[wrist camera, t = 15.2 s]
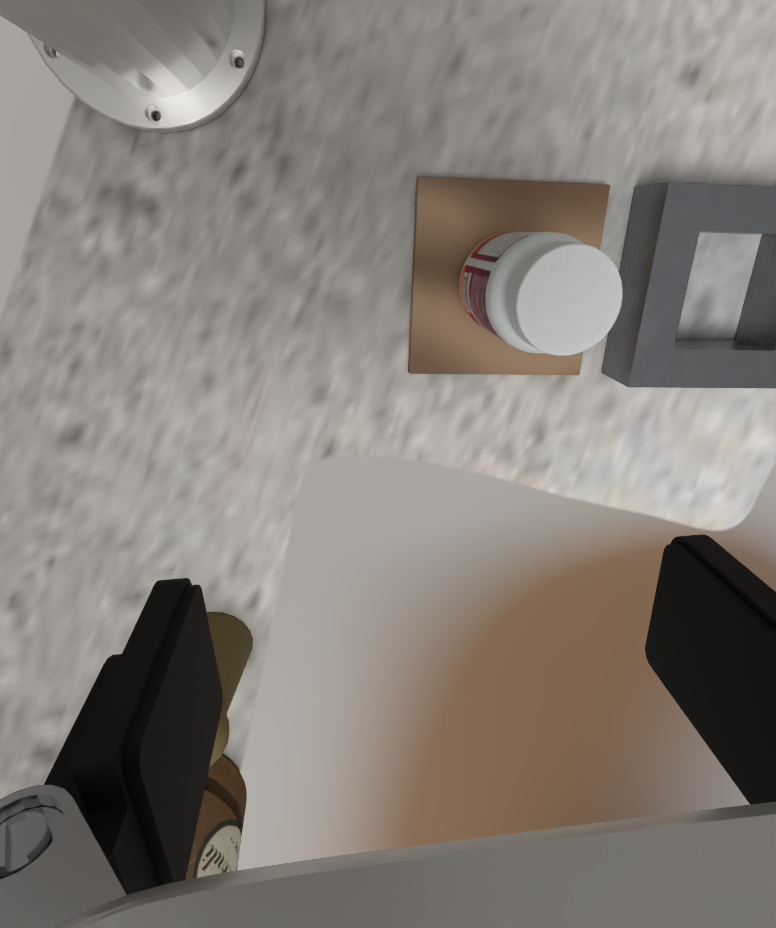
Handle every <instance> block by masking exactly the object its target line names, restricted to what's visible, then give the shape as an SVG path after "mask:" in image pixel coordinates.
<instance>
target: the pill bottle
mask: <svg viewBox="0 0 776 928" xmlns="http://www.w3.org/2000/svg"><path fill="white" fill-rule="evenodd" d="M459 291H460V297H461V301H462V304H463V306H464V308H465V310H466V312H467V313H468V315H469V316H470V317H471V318H472V319H473V320H474V321H475V322H476V323H477V324H478V325H480V326H481V327H483V328H484V329H486V330H487V331H489V332H490V333H492V334H494V335H495V336H497V337H499V338H500V339H502V340H503V341H505V342H506V343H507V344H508V345H510V346H512V347H514V348H516V349H519V350H521V351H524V352H528V353H536V354H543V353H547V354H550V355H557V356H567V355H573V354H577V353H581V352H583V351H585V350H587V349H589V348H591V347H592V346H594V345H595V344H597V343H598V342H599V341H600V340H601V339H603V338H604V336H605V335H606V334H607V333H608V332H609V330H610V329H611V328H612V326H613V324H614V323H615V321H616V319H617V316H618V314H619V311H620V308H621V303H622V295H623V293H622V281H621V277H620V274H619V272H618V269H617V267H616V266H615V264H614V262H613V261H612V260H611V259H610V258H609V257H608V255H606V254H605V253H604V252H603V251H601V250H600V249H598V248H596V247H593V246H591V245H587V244H584V243H583V242H581V241H580V240H578V239H576V238H575V237H572V236H570V235H567V234H563V233H558V232H504V233H500V234H496V235H493V236H491V237H489V238H487V239H485V240H484V241H482V242H481V243H480V244H478V245H477V246H476V247H475V248H474V249H473V251H472V252H471V253H470V254H469V256H468V257H467V259H466V261H465V263H464V265H463V268H462V271H461V274H460V280H459Z"/></svg>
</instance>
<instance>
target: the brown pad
mask: <svg viewBox="0 0 776 928" xmlns="http://www.w3.org/2000/svg"><path fill="white" fill-rule="evenodd" d="M609 189H610V185H601V184H578V183H554V182H531V181H508V180H484V179H461V178H437V177H417V187H416V209H415V231H414V253H413V275H412V297H411V319H410V341H409V363H408V371H409V373H414V374H518V375H579V373H580V367H581V361H582V354H583V352H581V353H577V354H573V355H567V356H557V355H550V354H547V353H543V354H536V353H528V352H524V351H521V350H519V349H516V348H514V347H512V346H510V345H508V344H507V343H506V342H505V341H503V340H502V339H500V338H499V337H497V336H495V335H494V334H492V333H490V332H489V331H487V330H486V329H484V328H483V327H481V326H480V325H478V324H477V323H476V322H475V321H474V320H473V319H472V318H471V317H470V316H469V315H468V313H467V312H466V310H465V308H464V306H463V304H462V301H461V297H460V291H459V280H460V274H461V271H462V268H463V265H464V263H465V261H466V259H467V257H468V256H469V254H470V253H471V252H472V251H473V249H474V248H475V247H476V246H477V245H478V244H480V243H481V242H482V241H484V240H485V239H487V238H489V237H491V236H493V235H496V234H500V233H504V232H558V233H563V234H567V235H570V236H572V237H575V238H576V239H578V240H580V241H581V242H583V243H584V244H587V245H591V246H593V247H596V248H598V249H600V244H601V238H602V232H603V226H604V220H605V214H606V208H607V202H608V195H609Z"/></svg>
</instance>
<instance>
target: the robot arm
mask: <svg viewBox="0 0 776 928" xmlns="http://www.w3.org/2000/svg"><path fill="white" fill-rule="evenodd" d="M0 15H1V16H2V17H4V18H6V19H7V20H9V21H10V22H12V23H13V24H15V25H16V26H18V27H20V28H21V29H23V30H24V31H26V32H27V33H28V35H29V37H30V39H31V41H32V42H33V44H34V46H35V47H36V49H37V51H38V52H39V54H40V56H41V57H42V59H43V61H44V62H45V64H46V65H47V66H48V67H49V69H50V70H51V71H52V72H53V73H54V74H55V76H56V77H57V78H58V79H59V81H60V82H61V83H62V84H63V85H64V86H65V87H66V88H67V89H68V90H69V91H70V92H72V93H73V94H74V95H75V96H76V97H77V98H78V99H79V100H81V101H82V102H83V103H84V104H86V105H87V106H89V107H90V108H92V109H94V110H95V111H97V112H98V113H100V114H102V115H103V116H105V117H107V118H109V119H111V120H113V121H115V122H117V123H119V124H122V125H125V126H128V127H131V128H135V129H138V130H141V131H148V132H158V133H171V132H180V131H187V130H190V129H192V128H195V127H198V126H201V125H204V124H206V123H208V122H209V121H211V120H212V119H214V118H216V117H217V116H219V115H220V114H222V113H223V112H224V111H225V110H226V109H227V108H228V107H229V106H230V105H231V104H232V103H233V102H234V101H235V100H236V99H237V98H238V97H239V96H240V94H241V93H242V91H243V90H244V88H245V86H246V85H247V83H248V82H249V80H250V79H251V76H252V74H253V71H254V69H255V66H256V64H257V61H258V59H259V56H260V51H261V46H262V42H263V37H264V32H265V0H0ZM56 51H57V52H59V53H60V54H61V55H60V56H59V57H57V56H56ZM237 59H242V60H243V61H244V66H243V67H242V68H237V67H236V65H235V63H236V60H237ZM155 112H159V113H160V115H161V119H160V120H159V121H155V120H154V118H153V114H154V113H155ZM645 652H646V657H647V660H648V663H649V664H650V666H651V667H652V669H653V670H654V672H655V673H656V674H657V676H658V677H659V679H660V680H661V681H662V683H663V684H664V686H665V687H666V688H667V690H668V691H669V692H670V694H671V695H672V696H673V698H674V699H675V701H676V702H677V704H678V705H679V706H680V708H681V709H682V711H683V712H684V713H685V715H686V716H687V717H688V719H689V720H690V721H691V723H692V724H693V726H694V727H695V729H696V730H697V731H698V733H699V734H700V735H701V737H702V738H703V740H704V741H705V742H706V744H707V745H708V747H709V748H710V749H711V751H712V752H713V754H714V755H715V756H716V758H717V759H718V760H719V762H720V763H721V765H722V766H723V767H724V769H725V770H726V771H727V773H728V774H729V776H730V777H731V778H732V780H733V781H734V783H735V784H736V785H737V787H738V788H739V790H740V791H741V792H742V794H743V795H744V796H745V798H746V799H747V801H748V802H749V803H750V805H744V806H735V807H727V808H718V809H711V810H701V811H693V812H685V813H676V814H668V815H659V816H651V817H643V818H634V819H626V820H618V821H610V822H602V823H593V824H586V825H578V826H569V827H561V828H553V829H546V830H537V831H529V832H521V833H513V834H505V835H498V836H490V837H481V838H473V839H465V840H458V841H450V842H443V843H435V844H427V845H419V846H412V847H404V848H397V849H389V850H382V851H373V852H366V853H358V854H350V855H343V856H335V857H327V858H320V859H313V860H306V861H300V862H293V863H286V864H279V865H272V866H266V867H259V868H253V869H246V870H239V871H232V872H225V873H219V874H214V875H209V876H204V877H199V878H194V879H189V880H185V879H186V874H187V870H188V865H189V860H190V856H191V851H192V846H193V842H194V837H195V832H196V828H197V823H198V818H199V813H200V809H201V804H202V799H203V795H204V790H205V785H206V781H207V776H208V771H209V767H210V762H211V757H212V753H213V748H214V743H215V739H216V734H217V729H218V725H219V720H220V715H221V710H222V702H223V695H222V687H221V682H220V677H219V672H218V667H217V662H216V657H215V652H214V647H213V642H212V637H211V632H210V627H209V623H208V618H207V613H206V608H205V603H204V598H203V593H202V589H201V587H200V585H192V584H191V582H190V580H189V579H188V578H183V579H171V580H159V581H157V582H156V583H155V585H154V587H153V589H152V591H151V593H150V595H149V598H148V600H147V602H146V604H145V606H144V608H143V610H142V612H141V615H140V617H139V619H138V621H137V623H136V625H135V627H134V630H133V632H132V634H131V636H130V638H129V640H128V642H127V644H126V647H125V649H124V651H123V653H122V654H118V655H112V656H111V657H109V658H108V659H107V661H106V662H105V664H104V665H103V667H102V669H101V671H100V673H99V675H98V677H97V679H96V681H95V683H94V685H93V687H92V689H91V691H90V693H89V695H88V697H87V699H86V701H85V703H84V705H83V707H82V709H81V711H80V713H79V715H78V717H77V719H76V721H75V723H74V725H73V727H72V729H71V731H70V733H69V735H68V737H67V739H66V741H65V743H64V745H63V747H62V749H61V751H60V753H59V755H58V757H57V759H56V761H55V763H54V765H53V767H52V769H51V771H50V773H49V775H48V777H47V779H46V781H45V783H44V785H35V786H32V787H28V788H25V789H21V790H18V791H16V792H14V793H12V794H10V795H8V796H6V797H4V798H2V799H0V928H776V592H775V591H774V590H773V589H771V588H770V587H769V586H768V585H767V584H765V583H764V582H763V581H762V580H761V579H759V578H758V577H757V576H756V575H755V574H753V573H752V572H751V571H750V570H749V569H748V568H746V567H745V566H744V565H743V564H742V563H740V562H739V561H738V560H737V559H736V558H734V557H733V556H732V555H731V554H730V553H728V552H727V551H726V550H725V549H724V548H722V547H721V546H720V545H719V544H717V543H716V542H715V541H714V540H713V539H712V538H710V537H709V536H707V535H691V536H680V537H676V538H674V539H673V540H672V542H671V544H669V545H667V546H666V547H665V549H664V552H663V557H662V562H661V568H660V573H659V579H658V583H657V588H656V594H655V599H654V604H653V609H652V615H651V620H650V625H649V630H648V635H647V640H646V646H645Z"/></svg>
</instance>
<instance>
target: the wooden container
mask: <svg viewBox="0 0 776 928" xmlns="http://www.w3.org/2000/svg"><path fill="white" fill-rule="evenodd" d="M245 807H246V786H245V783H244V780H243V778H242V776H241V774H240V772H239V771H238V769H237V768H236V767H235V766H234V765H233V763H232V762H231V761H230V760H228V759H227V758H226V757H225V756H223V755H221V757H220V758H219V759H218V760H217V761H216V762H215V763H214V764H213V765H212V766H210V767H209V771H208V776H207V781H206V785H205V790H204V795H203V799H202V804H201V809H200V813H199V818H198V823H197V828H196V832H195V837H194V842H193V846H192V851H191V856H190V860H189V865H188V870H187V874H186V879H185V880H189V879H194V878H199V877H204V876H209V875H214V874H219V873H225V872H232V871H237V865H238V857H239V849H240V843H241V834H242V828H243V821H244V814H245Z"/></svg>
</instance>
